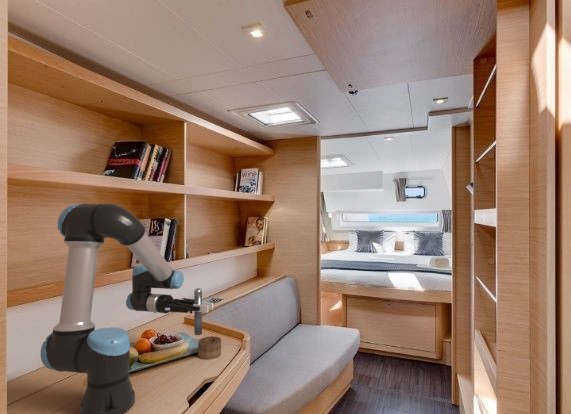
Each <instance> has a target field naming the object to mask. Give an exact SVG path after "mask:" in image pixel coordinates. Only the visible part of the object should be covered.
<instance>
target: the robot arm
mask: <svg viewBox="0 0 571 414" xmlns="http://www.w3.org/2000/svg"><path fill="white" fill-rule="evenodd" d="M57 229H58V231H59V233H60V235H62V236H63V237H64V239H63V240H64V241H63V243H64V244H65V245H66V246H67V247H68V252H67V258H66V259H67V260H66V266H65V267H66V268H65V276H64V282H63V290H62V291H63V292H62V299H61V308H60V314H59V322H58V323H57V324H56V325H55V326H54V327H53V328H52V332H51V333H50V334H49V335H48V336H47V337H46V338H45V340H44V341H43V342H42V345H41V348H40V360H41V363H42V364H43V365H44V366H45V367H46V368H47V369H49V370H52V371H56V372H62V373H63V372H68V373H80V374H86V375H87V378H86V379H87V381H86V383H87V384H86V388H85V389H86V390H85V393H84V395H83V399H82V401H81V404H80V407H79V414H123V413H124V412H125V413H127V412H128V411H129V409H130V408H131V407H132V408H133V407H134V406H135V403H136V392H135V390H134V388H133V384H132V381H131V379H130V357H131V356H130V354H131V353H130V349H131V342H130V335H129V333H128V332H127V330H125V329H122V328H119V327H113V326H111V327H99V328H97V329H96V328H95V327H96V324H95V323H94V322H92V321H91V320H92V319H91V317H92V309H93V300H94V293H95V292H94V291H95V280H96V274H97V273H96V272H97V265H98V264H97V262H98V253H99V248H101V247H102V246H103V245H104V244H105V239H107V238H109V239H113V240H115V241H117V242H118V243H119V244H120V245H121V246H124V247H127V248H128V250H129V251H131V253H132V254H133V255H134V256H135V258H136V259H137V260H138V261H139V262H140V263H141V264H140V265H139V264H137V265H135V266H133V267H132V273H131V275H132V276H131V279H132V281H131V285H132V289H131V291H132V292H130V293H129V294H128V295H127V297H126V300H125V305H126V307H127V308H128V310H130V311H131V310H132V311H136V312H149V313H154V314H157V313H160V314H169V313H180V314H181V313H182V314H183V313H184V314H188V313H189V314H193V312H194V311H195V312H202V313H209V311H212V310H214V302H209V301H208V302H207V301H202V305H199V304H194V298H186V297H183V298H174V297H173V296H172V295H171V294H164V293H163V294H162V293H152V289H165V290H167V289H168V290H178V289H181V287H182V286H183V283H184V278H185V276H184V273H183V272H182V271H181V270H174V269H173V267H172V266H171V265H170V264H169V263H168V261H167V260H166V259H165V257H164V256H163V255H162V253H161V252H160V251H159V249H158V248H157V247H156V245H155V244H154V243H153V241H152V240H151V239H150V238H149V236H148V235H147V234H146V231H147V230H146V227H145V226H144V224H143V223H142V222H141V221H140V220H139V219H138V217H136V216H135V214H133V213H132V212H130V211H129V210H127V209H126V208H124V207H122V206H121V205H118V204H115V203H78V204H71V205H69V206H67V207H66V208H65V209H63V211H61V213H60V214H59V216H58V220H57ZM132 408H131V409H132ZM131 409H130V410H131ZM127 410H128V411H127ZM126 411H127V412H126ZM125 413H124V414H125Z"/></svg>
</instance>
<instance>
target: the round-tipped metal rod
mask: <svg viewBox="0 0 571 414" xmlns="http://www.w3.org/2000/svg"><path fill="white" fill-rule="evenodd" d="M193 292H194V295H193V296H194V297H193V299H194V304H199V305H202V302H203V291H202V289H201V288H199V287H197V288H196V289H194V290H193ZM193 312H194V314H193V315H194V316H193V317H194V318H193V319H194V320H193V321H194V329H193V330H194V332H193V333H194V335H195V336H200V335H202V334H203V312H195V311H193Z"/></svg>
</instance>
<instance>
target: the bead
mask: <svg viewBox="0 0 571 414" xmlns="http://www.w3.org/2000/svg"><path fill="white" fill-rule="evenodd" d="M197 342H198V343H197V358H199V359H201V360H205V361H206V360H214V359H217V358H219V357H220V356H221V355H222V338H221V337H218V336H212V335H211V336H205V337H202V338H200V339H199V340H198V341H197Z"/></svg>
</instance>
